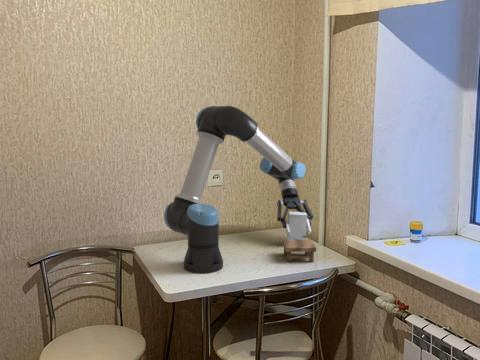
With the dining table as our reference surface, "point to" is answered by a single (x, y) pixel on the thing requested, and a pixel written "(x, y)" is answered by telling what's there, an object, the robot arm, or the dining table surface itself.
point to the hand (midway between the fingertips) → (299, 233)
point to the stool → (299, 249)
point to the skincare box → (297, 225)
